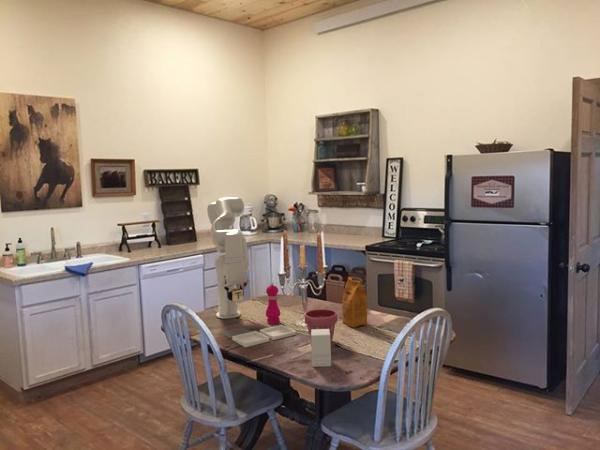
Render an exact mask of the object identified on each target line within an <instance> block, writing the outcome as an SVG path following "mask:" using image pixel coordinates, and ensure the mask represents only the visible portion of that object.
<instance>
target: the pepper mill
mask: <svg viewBox="0 0 600 450" xmlns="http://www.w3.org/2000/svg"><path fill="white" fill-rule="evenodd" d="M265 293H266V296H267V297H266V298H267V300H268V305H267V307H266V309H265V317H266V318H267V319H266V322H267V323H268V324H272V325H277V324H279V323H280V322H281V320H280V319H281V318H280V316H281V310H280V307H279V305H278V302H277V301H278V293H279V288H278V287H277V286H276V285H275V284H274V282H270V283H269V285H268V286H267V287H266V289H265Z"/></svg>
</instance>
